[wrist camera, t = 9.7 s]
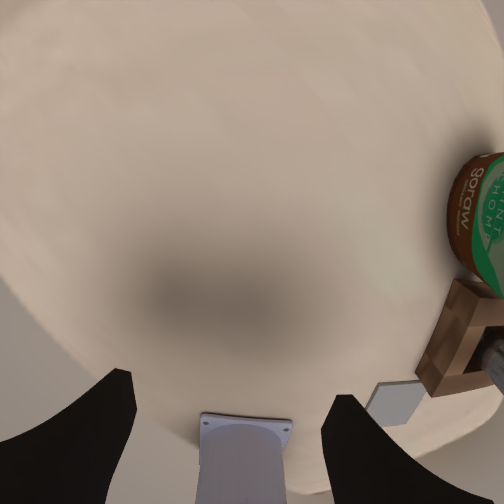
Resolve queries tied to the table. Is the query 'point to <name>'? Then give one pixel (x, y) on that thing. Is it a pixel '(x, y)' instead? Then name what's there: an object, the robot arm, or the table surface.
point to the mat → (395, 402)
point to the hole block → (460, 339)
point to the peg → (491, 356)
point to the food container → (479, 218)
